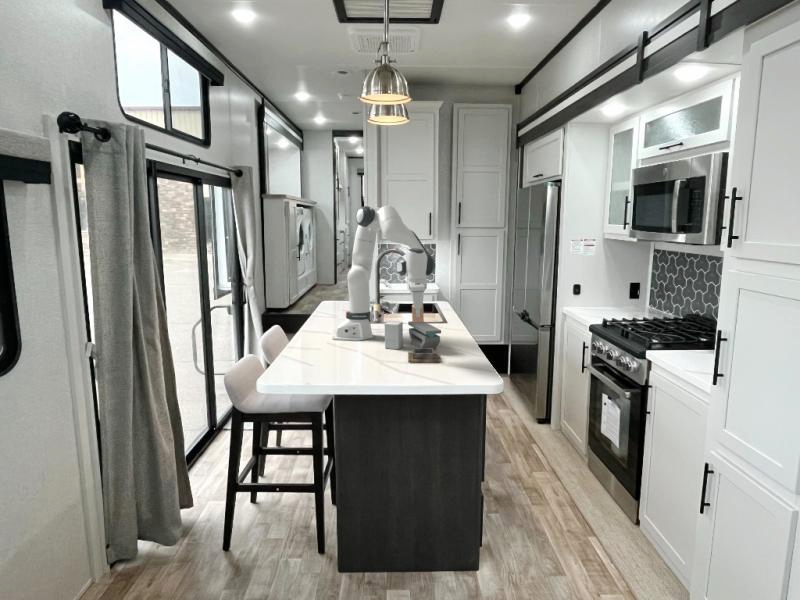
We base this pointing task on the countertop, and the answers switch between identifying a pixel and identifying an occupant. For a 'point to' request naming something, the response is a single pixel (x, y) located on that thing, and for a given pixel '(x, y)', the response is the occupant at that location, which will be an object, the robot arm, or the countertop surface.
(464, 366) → the countertop surface
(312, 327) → the countertop surface
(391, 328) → the supplement box
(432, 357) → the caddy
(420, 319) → the block
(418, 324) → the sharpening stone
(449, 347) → the countertop surface
